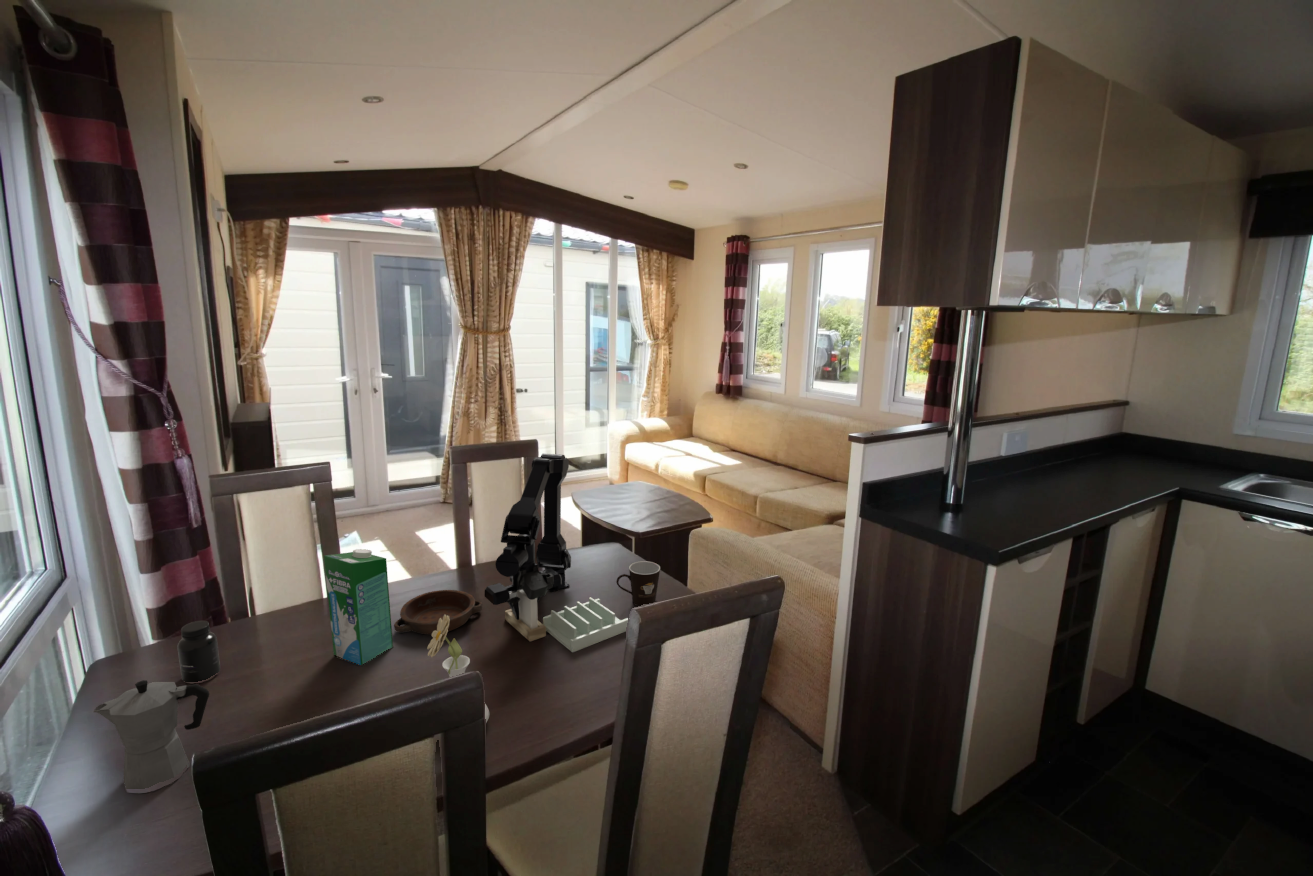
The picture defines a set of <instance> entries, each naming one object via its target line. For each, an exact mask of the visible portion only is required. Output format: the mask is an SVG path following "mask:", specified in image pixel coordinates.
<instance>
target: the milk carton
mask: <svg viewBox="0 0 1313 876" xmlns="http://www.w3.org/2000/svg"><path fill="white" fill-rule="evenodd" d="M372 553H373V551H372V550H370V549H362V548H356V549H353V550H352V551H350V552H343V553H336V554H327V555H323V561H324V571H325V581H326V591H327V592H326V593H327V600H328V601H327V602H328V611H329V620H330V629H331V639H332V648H333V649H332V650H333V651H332V652H333V656H334V655H336V656H339V657H341V658H343V659H346V660H349V661H351V662H354V663H356V664H355V665H357V664H359V665H362V664H364V663H366V662H367V661H369V660H370V661H372V660H374V659H376V658H377V657H378V656H377V655H379V654H380V655H382V654H384V653H385V652H387V651H388V649H389V650H390V649H392V648H393V647H394V645H393V641H394V640H393V630H392V628H393V627H392V618H391V617H392V615H391V605H390V592H389V591H390V590H389V579H388V566H387V565H388V564H387V558H385V557H382V556H378V555H375V554H372ZM386 650H387V651H386ZM384 651H385V652H384ZM383 652H384V653H383ZM381 653H382V654H381ZM380 655H379V656H380ZM376 656H377V657H376ZM341 658H340V659H341ZM373 658H374V659H373ZM343 659H342V660H343ZM371 659H372V660H371ZM346 660H345V661H346ZM349 661H348V662H349ZM370 661H369V662H370ZM351 662H350V663H351ZM354 663H353V664H354ZM367 663H368V662H367ZM367 663H366V664H367ZM359 665H358V666H359ZM364 665H365V664H364ZM362 666H363V665H362Z"/></svg>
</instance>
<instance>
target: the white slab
mask: <svg viewBox="0 0 1313 876" xmlns="http://www.w3.org/2000/svg"><path fill="white" fill-rule="evenodd" d="M517 597H518V598H520V601H519V602H518V604H519V619H520V620H521V621H522V622H523V623H525V624H526V625H527V626H528V627H529V628H530V629H534V628H537V627H538V621H539V620H538V619H539V618H538V605H537V598H535V599H533V600H530V599H529V598H528V597H527V595H526V594H525V592H524V591H523V590H520V591H517Z"/></svg>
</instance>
